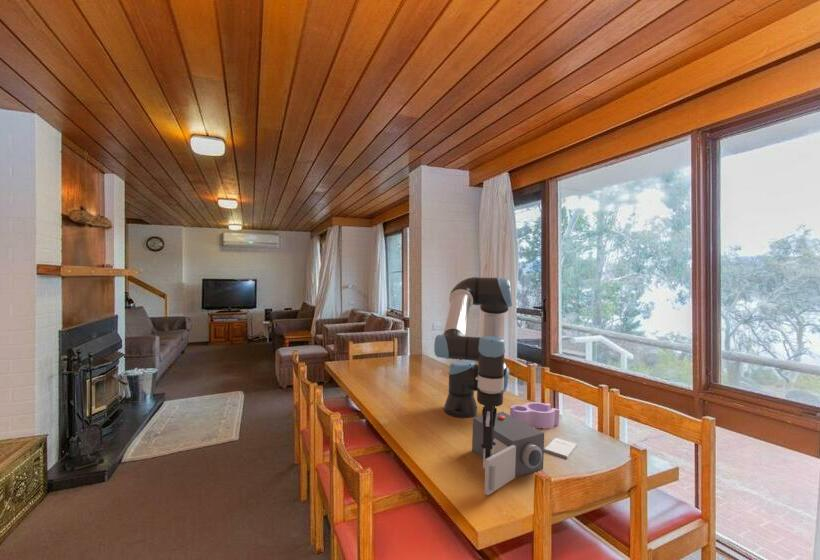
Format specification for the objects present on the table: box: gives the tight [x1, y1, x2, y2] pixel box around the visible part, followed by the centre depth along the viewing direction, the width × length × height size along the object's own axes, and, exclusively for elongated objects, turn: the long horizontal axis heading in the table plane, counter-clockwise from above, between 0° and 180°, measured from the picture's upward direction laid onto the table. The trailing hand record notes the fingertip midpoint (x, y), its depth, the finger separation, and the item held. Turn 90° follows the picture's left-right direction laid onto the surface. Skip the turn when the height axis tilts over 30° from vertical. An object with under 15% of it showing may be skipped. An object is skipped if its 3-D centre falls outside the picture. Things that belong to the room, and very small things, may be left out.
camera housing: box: [471, 411, 545, 479], centre depth 125 cm, size 23×14×13 cm, turn 28°
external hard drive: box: [544, 437, 578, 460], centre depth 135 cm, size 2×8×12 cm
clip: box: [509, 401, 560, 430], centre depth 157 cm, size 20×12×7 cm, turn 102°
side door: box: [483, 445, 516, 496], centre depth 108 cm, size 14×2×10 cm, turn 131°
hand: (487, 467), depth 108 cm, fingers closed
